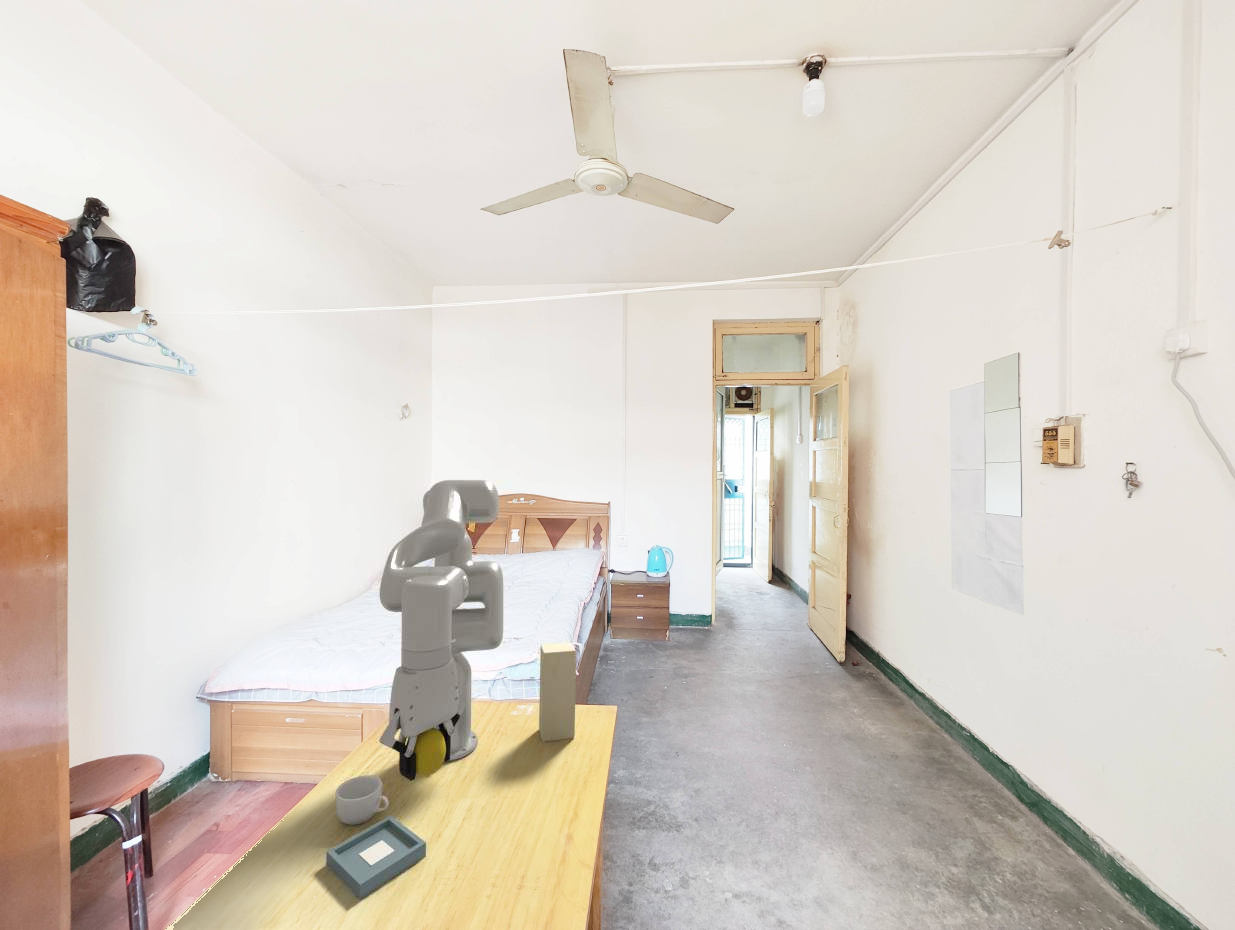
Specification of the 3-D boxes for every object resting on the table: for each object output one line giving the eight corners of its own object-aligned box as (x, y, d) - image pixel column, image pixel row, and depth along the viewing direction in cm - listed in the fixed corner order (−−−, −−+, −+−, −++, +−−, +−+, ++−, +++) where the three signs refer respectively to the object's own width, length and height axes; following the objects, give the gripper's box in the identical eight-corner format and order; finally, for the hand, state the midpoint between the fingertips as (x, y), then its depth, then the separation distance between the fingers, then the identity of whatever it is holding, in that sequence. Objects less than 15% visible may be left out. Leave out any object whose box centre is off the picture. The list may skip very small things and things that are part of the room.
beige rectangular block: (570, 723, 131) (570, 640, 131) (575, 738, 124) (576, 650, 124) (538, 727, 129) (539, 643, 129) (542, 742, 122) (543, 653, 122)
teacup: (324, 827, 93) (325, 797, 93) (355, 800, 100) (355, 772, 100) (373, 836, 91) (373, 805, 91) (400, 808, 98) (401, 779, 98)
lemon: (414, 767, 85) (414, 719, 85) (448, 765, 86) (449, 717, 86) (404, 788, 80) (404, 737, 79) (441, 786, 80) (441, 735, 80)
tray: (326, 864, 84) (326, 851, 84) (390, 827, 93) (390, 815, 93) (360, 899, 77) (360, 884, 77) (425, 855, 86) (426, 842, 86)
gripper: (456, 635, 92) (455, 736, 92) (361, 666, 78) (360, 786, 78) (484, 644, 87) (483, 750, 88) (389, 679, 73) (388, 805, 74)
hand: (425, 766), depth 83 cm, fingers closed on lemon, 5 cm apart
